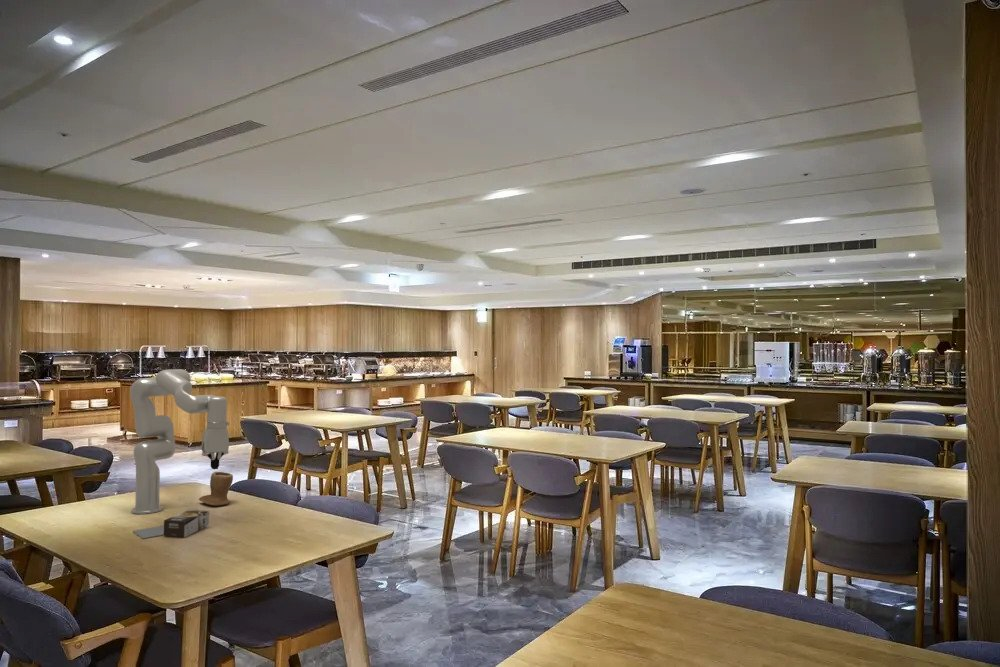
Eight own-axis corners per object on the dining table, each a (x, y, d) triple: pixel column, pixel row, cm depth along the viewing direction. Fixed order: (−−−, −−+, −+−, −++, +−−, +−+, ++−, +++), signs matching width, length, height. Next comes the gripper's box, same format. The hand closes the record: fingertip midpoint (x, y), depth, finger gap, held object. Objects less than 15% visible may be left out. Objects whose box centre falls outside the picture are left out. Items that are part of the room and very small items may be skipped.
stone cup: (236, 504, 306) (237, 472, 307) (211, 508, 298) (211, 476, 298) (222, 499, 317) (223, 468, 317) (198, 503, 308) (198, 471, 308)
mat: (132, 531, 260) (132, 530, 260) (180, 523, 272) (180, 522, 272) (142, 539, 250) (142, 538, 250) (192, 530, 262) (192, 529, 262)
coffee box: (209, 510, 267) (185, 521, 251) (208, 525, 267) (184, 538, 251) (189, 508, 269) (163, 519, 253) (188, 523, 269) (162, 536, 253)
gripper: (230, 423, 284) (229, 465, 284) (194, 425, 274) (193, 469, 274) (237, 425, 279) (235, 468, 279) (201, 427, 269) (199, 472, 268)
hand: (214, 468), depth 276 cm, fingers closed
